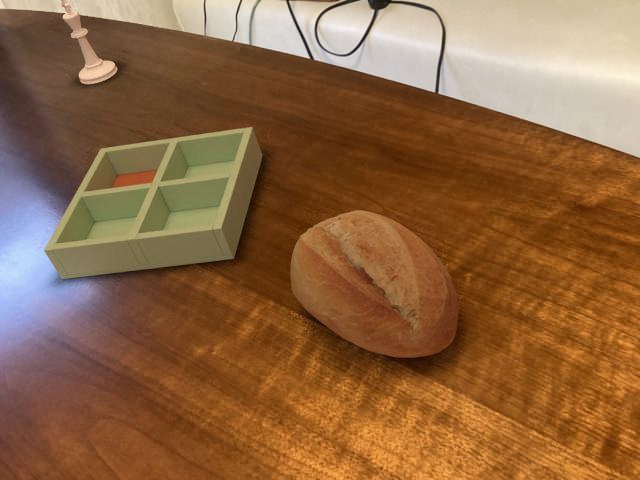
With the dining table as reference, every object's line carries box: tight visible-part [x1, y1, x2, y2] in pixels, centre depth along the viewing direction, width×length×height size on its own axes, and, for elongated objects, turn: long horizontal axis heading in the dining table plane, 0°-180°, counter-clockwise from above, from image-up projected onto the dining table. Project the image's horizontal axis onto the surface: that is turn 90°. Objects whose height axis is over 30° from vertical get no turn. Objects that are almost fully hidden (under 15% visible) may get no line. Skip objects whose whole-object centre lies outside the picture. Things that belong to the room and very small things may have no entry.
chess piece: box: [60, 0, 118, 85], centre depth 96 cm, size 5×5×10 cm
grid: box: [43, 126, 264, 280], centre depth 72 cm, size 16×16×3 cm
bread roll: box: [289, 209, 460, 359], centre depth 55 cm, size 10×15×8 cm, turn 43°
